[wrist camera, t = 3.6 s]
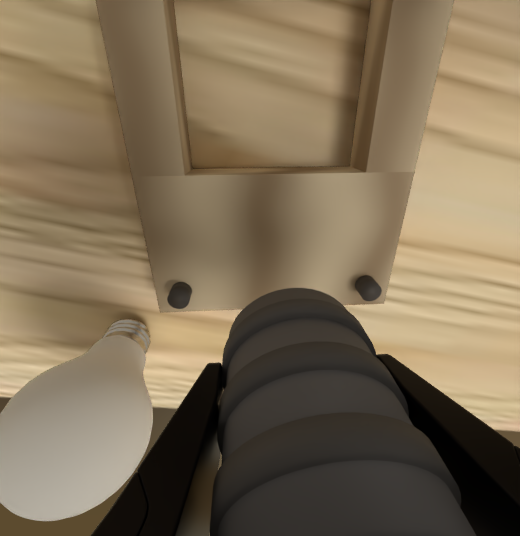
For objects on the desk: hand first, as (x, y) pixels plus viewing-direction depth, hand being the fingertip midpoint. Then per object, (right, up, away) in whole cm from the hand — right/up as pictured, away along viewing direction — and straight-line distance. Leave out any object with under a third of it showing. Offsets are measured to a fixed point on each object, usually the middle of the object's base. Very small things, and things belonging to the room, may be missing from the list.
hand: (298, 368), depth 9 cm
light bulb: (-10, -1, +12) cm, 16 cm away
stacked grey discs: (0, +1, +1) cm, 1 cm away
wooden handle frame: (0, +9, +7) cm, 11 cm away
